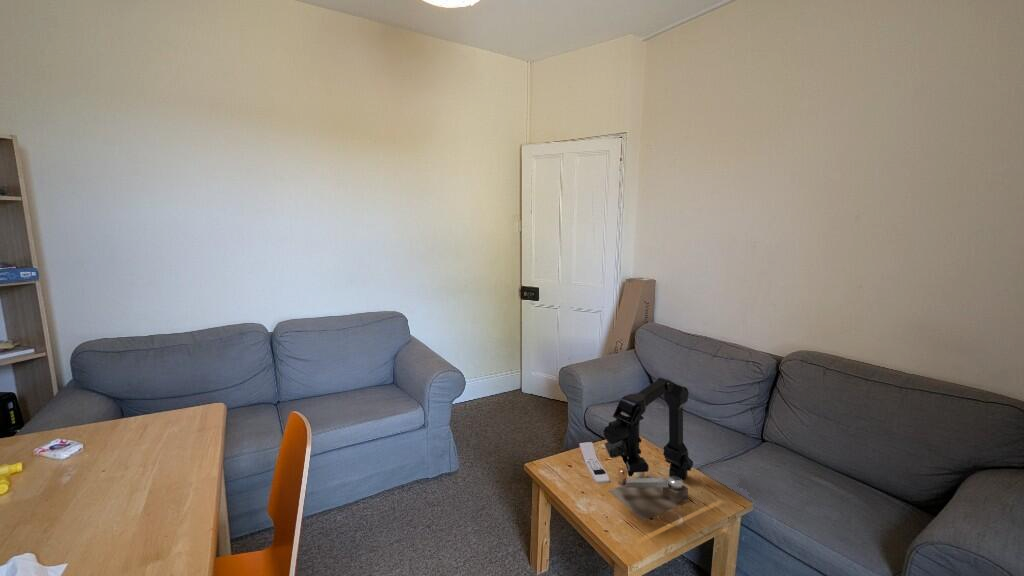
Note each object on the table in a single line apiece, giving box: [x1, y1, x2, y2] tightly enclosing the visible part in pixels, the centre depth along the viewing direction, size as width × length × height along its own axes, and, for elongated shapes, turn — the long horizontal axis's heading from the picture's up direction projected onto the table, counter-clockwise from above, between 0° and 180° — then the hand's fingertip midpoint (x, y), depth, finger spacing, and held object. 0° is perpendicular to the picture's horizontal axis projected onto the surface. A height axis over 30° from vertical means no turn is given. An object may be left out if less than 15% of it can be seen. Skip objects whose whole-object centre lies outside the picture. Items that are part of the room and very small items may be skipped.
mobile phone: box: [579, 441, 610, 484], centre depth 168 cm, size 6×6×25 cm
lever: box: [617, 467, 684, 490], centre depth 148 cm, size 23×5×6 cm, turn 89°
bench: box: [607, 473, 690, 522], centre depth 150 cm, size 22×18×6 cm
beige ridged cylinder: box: [632, 472, 646, 478], centre depth 156 cm, size 4×4×6 cm
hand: (630, 475), depth 144 cm, fingers closed
